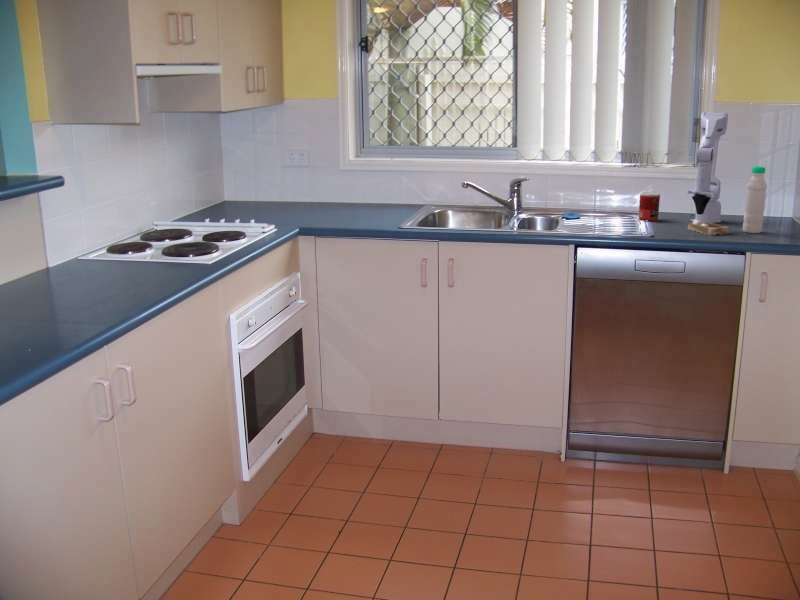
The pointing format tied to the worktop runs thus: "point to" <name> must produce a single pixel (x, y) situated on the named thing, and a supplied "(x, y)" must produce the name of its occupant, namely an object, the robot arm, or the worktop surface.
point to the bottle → (700, 223)
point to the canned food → (649, 206)
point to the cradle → (707, 230)
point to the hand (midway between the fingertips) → (700, 214)
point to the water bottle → (755, 201)
